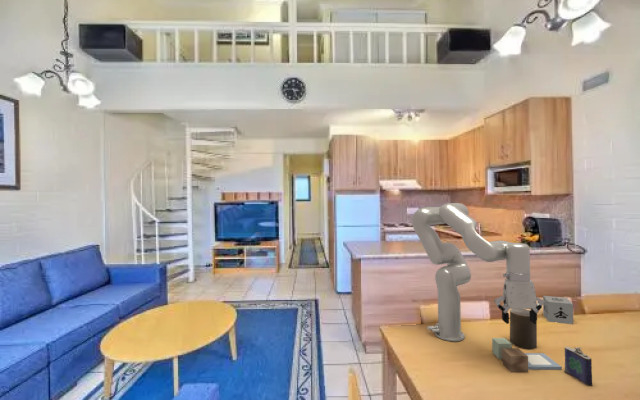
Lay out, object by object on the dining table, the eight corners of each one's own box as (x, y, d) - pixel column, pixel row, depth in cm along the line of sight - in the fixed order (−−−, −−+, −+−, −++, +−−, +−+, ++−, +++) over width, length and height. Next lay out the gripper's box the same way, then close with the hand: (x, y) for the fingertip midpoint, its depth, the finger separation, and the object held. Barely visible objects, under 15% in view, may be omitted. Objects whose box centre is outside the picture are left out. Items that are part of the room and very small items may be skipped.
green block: (498, 359, 124) (498, 343, 124) (492, 352, 129) (492, 337, 129) (511, 359, 124) (511, 343, 123) (505, 352, 129) (504, 337, 128)
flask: (562, 371, 114) (562, 341, 114) (570, 370, 115) (569, 341, 115) (587, 386, 105) (587, 354, 105) (595, 385, 106) (595, 353, 105)
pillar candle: (528, 351, 129) (528, 314, 129) (504, 341, 138) (504, 307, 137) (541, 346, 133) (542, 310, 133) (518, 337, 142) (518, 303, 142)
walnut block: (511, 372, 114) (510, 356, 114) (502, 363, 120) (501, 348, 120) (528, 372, 114) (528, 356, 114) (518, 363, 120) (518, 348, 120)
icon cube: (543, 314, 167) (543, 295, 167) (566, 317, 163) (566, 297, 163) (548, 321, 158) (548, 301, 158) (573, 324, 154) (573, 304, 154)
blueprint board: (527, 369, 116) (527, 366, 116) (512, 355, 126) (512, 352, 126) (561, 369, 115) (561, 366, 115) (543, 355, 125) (543, 353, 125)
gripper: (498, 279, 116) (500, 326, 116) (549, 279, 114) (550, 326, 115) (489, 274, 123) (490, 318, 123) (536, 274, 122) (537, 318, 122)
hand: (519, 322), depth 119 cm, fingers open, 9 cm apart
